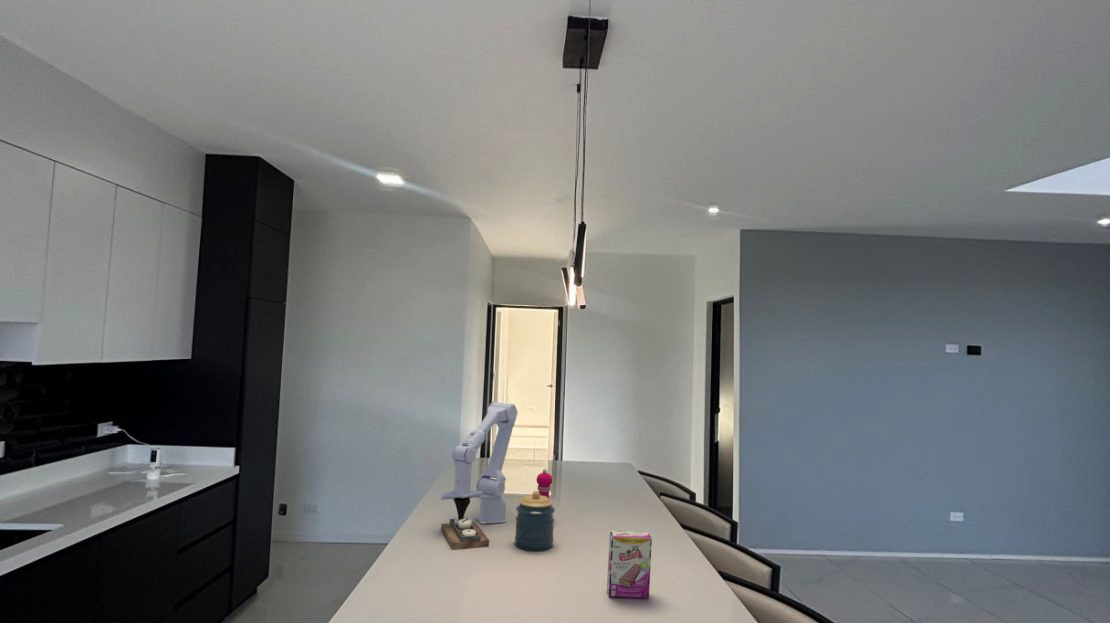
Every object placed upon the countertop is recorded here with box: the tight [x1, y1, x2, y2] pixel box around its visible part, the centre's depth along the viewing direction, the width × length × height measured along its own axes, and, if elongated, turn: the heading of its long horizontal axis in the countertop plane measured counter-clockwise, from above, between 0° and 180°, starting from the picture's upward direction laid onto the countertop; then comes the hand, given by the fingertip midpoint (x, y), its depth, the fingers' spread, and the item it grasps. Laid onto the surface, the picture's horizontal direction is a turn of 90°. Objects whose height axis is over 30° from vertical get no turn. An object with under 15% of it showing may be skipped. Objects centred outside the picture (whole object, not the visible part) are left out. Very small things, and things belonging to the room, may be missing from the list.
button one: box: [462, 529, 476, 537], centre depth 189 cm, size 4×4×2 cm
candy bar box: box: [606, 530, 653, 600], centre depth 156 cm, size 11×5×16 cm, turn 92°
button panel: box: [440, 517, 490, 550], centre depth 195 cm, size 12×20×4 cm, turn 22°
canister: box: [514, 490, 556, 552], centre depth 192 cm, size 13×13×18 cm
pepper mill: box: [536, 468, 553, 507], centre depth 216 cm, size 7×7×20 cm
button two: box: [453, 517, 467, 524], centre depth 201 cm, size 4×4×2 cm
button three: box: [458, 518, 472, 529], centre depth 195 cm, size 4×4×2 cm
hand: (460, 519), depth 201 cm, fingers closed, pressing on button two
